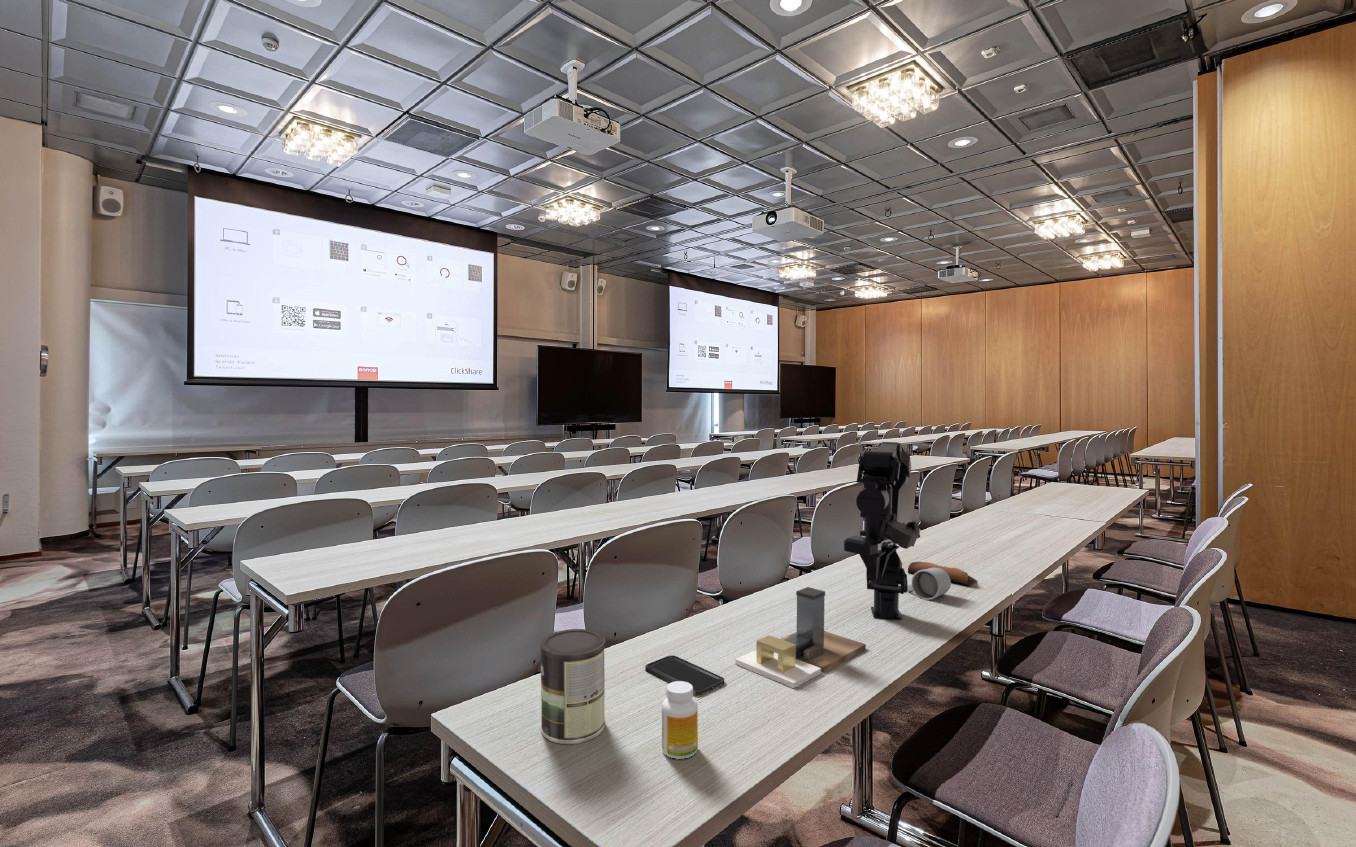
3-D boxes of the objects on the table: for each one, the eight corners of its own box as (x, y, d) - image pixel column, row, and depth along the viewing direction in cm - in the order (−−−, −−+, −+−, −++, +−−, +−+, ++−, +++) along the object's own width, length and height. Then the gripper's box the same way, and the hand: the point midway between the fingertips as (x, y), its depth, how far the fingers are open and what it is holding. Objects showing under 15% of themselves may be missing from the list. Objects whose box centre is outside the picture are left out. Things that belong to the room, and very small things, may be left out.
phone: (672, 654, 125) (727, 678, 114) (672, 659, 125) (726, 684, 114) (642, 665, 119) (696, 693, 108) (642, 671, 119) (696, 699, 108)
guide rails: (793, 643, 130) (793, 634, 129) (823, 653, 124) (823, 644, 124) (779, 650, 126) (779, 641, 126) (808, 661, 121) (808, 652, 121)
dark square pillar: (807, 640, 130) (808, 586, 130) (824, 646, 127) (825, 591, 127) (778, 654, 123) (778, 597, 123) (795, 660, 120) (796, 602, 120)
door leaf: (809, 630, 139) (809, 625, 139) (865, 648, 129) (865, 644, 129) (765, 650, 128) (765, 645, 128) (822, 672, 118) (822, 667, 118)
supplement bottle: (705, 752, 92) (705, 688, 91) (675, 765, 89) (675, 699, 88) (683, 736, 96) (683, 675, 96) (654, 747, 93) (654, 684, 93)
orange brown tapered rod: (980, 580, 177) (976, 563, 174) (971, 597, 173) (967, 580, 170) (920, 567, 190) (915, 551, 187) (910, 583, 186) (905, 566, 183)
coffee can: (531, 742, 94) (530, 652, 94) (552, 708, 104) (551, 627, 104) (597, 746, 93) (597, 655, 93) (611, 712, 103) (611, 629, 103)
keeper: (769, 656, 123) (769, 634, 123) (795, 666, 119) (795, 644, 118) (756, 662, 120) (756, 640, 120) (782, 672, 116) (783, 650, 116)
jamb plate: (763, 651, 128) (763, 646, 128) (820, 673, 118) (820, 668, 118) (735, 663, 122) (735, 658, 122) (793, 688, 112) (793, 682, 112)
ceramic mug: (952, 596, 163) (953, 567, 163) (938, 603, 158) (939, 573, 157) (914, 587, 171) (914, 560, 171) (900, 593, 166) (900, 565, 165)
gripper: (891, 519, 122) (890, 597, 123) (933, 507, 135) (931, 577, 136) (842, 511, 130) (841, 584, 131) (885, 501, 143) (884, 567, 144)
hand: (876, 578), depth 135 cm, fingers closed
